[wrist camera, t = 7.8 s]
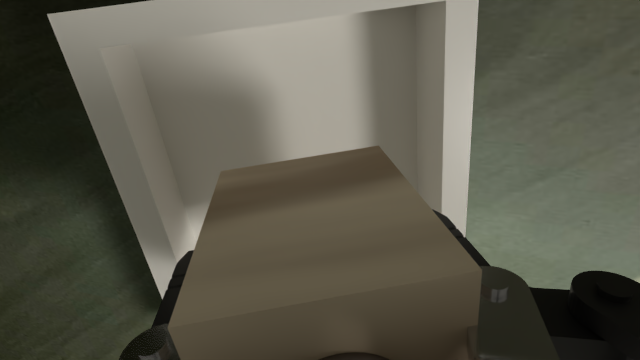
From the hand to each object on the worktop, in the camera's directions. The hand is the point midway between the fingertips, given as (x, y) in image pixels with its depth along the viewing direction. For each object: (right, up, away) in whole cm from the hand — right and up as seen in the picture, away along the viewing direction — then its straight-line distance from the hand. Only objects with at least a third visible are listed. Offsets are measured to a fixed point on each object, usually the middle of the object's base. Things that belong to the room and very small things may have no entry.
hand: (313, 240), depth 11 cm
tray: (-1, +2, +5) cm, 5 cm away
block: (0, 0, +1) cm, 1 cm away
